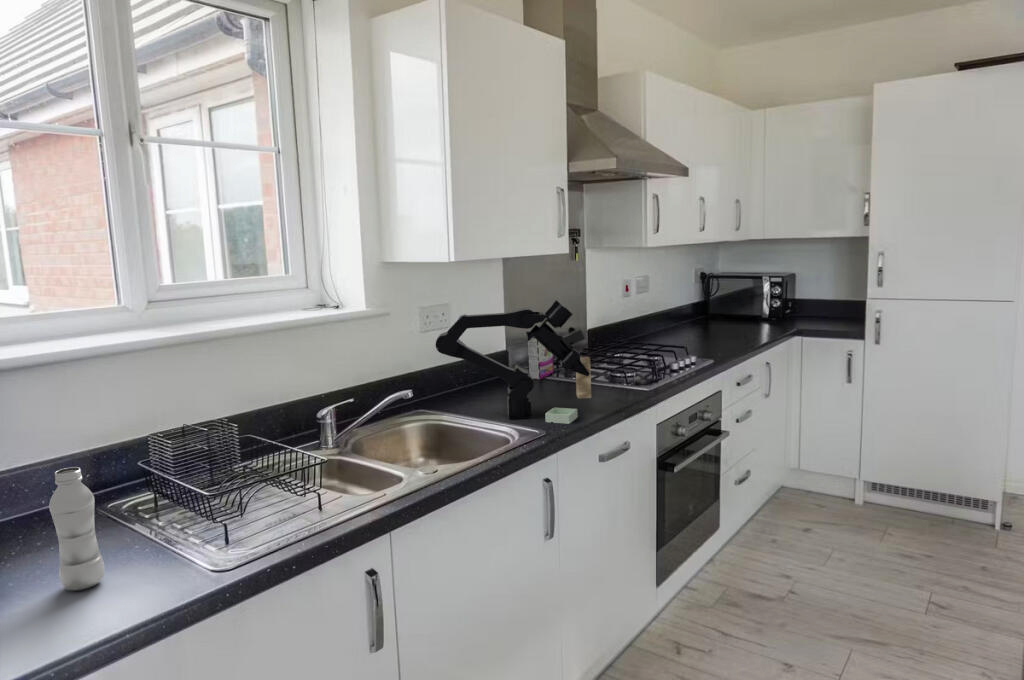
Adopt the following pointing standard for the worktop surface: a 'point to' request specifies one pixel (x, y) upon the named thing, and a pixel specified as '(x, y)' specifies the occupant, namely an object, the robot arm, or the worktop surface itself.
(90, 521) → the plastic bottle
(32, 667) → the worktop surface
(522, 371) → the robot arm
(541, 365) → the candy bar box
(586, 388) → the tan wooden block
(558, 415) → the open square box
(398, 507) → the worktop surface
